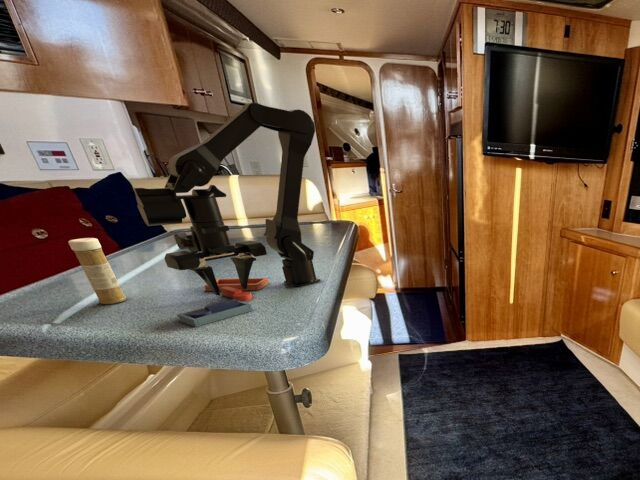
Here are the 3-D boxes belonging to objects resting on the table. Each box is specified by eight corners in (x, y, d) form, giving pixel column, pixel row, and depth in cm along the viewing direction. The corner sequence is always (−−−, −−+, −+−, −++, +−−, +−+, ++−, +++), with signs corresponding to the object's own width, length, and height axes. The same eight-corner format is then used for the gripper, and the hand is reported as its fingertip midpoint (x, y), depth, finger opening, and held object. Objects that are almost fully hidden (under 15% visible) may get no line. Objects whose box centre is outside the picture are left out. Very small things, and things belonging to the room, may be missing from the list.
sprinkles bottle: (110, 298, 91) (79, 237, 85) (131, 298, 92) (103, 237, 85) (94, 305, 87) (60, 241, 81) (117, 304, 88) (85, 241, 81)
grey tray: (236, 305, 88) (234, 299, 87) (252, 310, 85) (250, 304, 85) (179, 320, 79) (176, 314, 79) (195, 326, 77) (193, 320, 76)
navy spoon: (234, 306, 86) (231, 298, 85) (243, 308, 85) (240, 300, 84) (188, 318, 79) (184, 310, 79) (197, 321, 78) (194, 313, 77)
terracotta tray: (269, 283, 103) (267, 277, 103) (258, 290, 98) (257, 284, 97) (219, 284, 102) (217, 278, 102) (206, 291, 97) (203, 285, 96)
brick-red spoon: (218, 296, 94) (215, 288, 93) (233, 292, 96) (230, 285, 95) (240, 302, 90) (237, 294, 89) (255, 298, 92) (253, 290, 92)
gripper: (230, 214, 96) (250, 278, 104) (137, 223, 82) (169, 297, 89) (258, 217, 91) (277, 284, 99) (164, 227, 77) (195, 305, 85)
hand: (231, 292), depth 93 cm, fingers open, 6 cm apart
